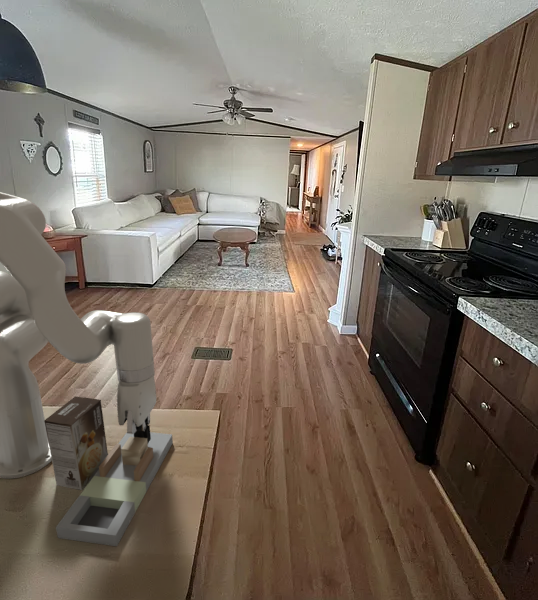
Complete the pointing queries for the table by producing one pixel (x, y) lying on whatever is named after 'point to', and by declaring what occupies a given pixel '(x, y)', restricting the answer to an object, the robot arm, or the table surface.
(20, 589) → the table surface
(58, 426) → the coffee box
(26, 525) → the table surface
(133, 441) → the cream block
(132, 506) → the recessed deck with rails
